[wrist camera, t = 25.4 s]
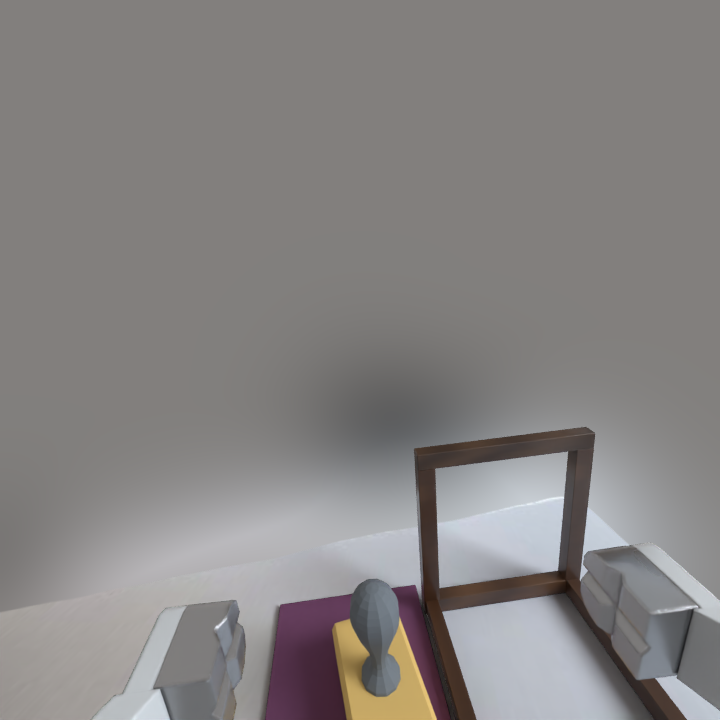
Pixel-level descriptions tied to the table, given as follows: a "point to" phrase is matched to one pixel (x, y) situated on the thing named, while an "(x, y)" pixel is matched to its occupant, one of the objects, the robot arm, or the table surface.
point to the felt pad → (318, 658)
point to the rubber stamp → (378, 660)
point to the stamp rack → (522, 587)
